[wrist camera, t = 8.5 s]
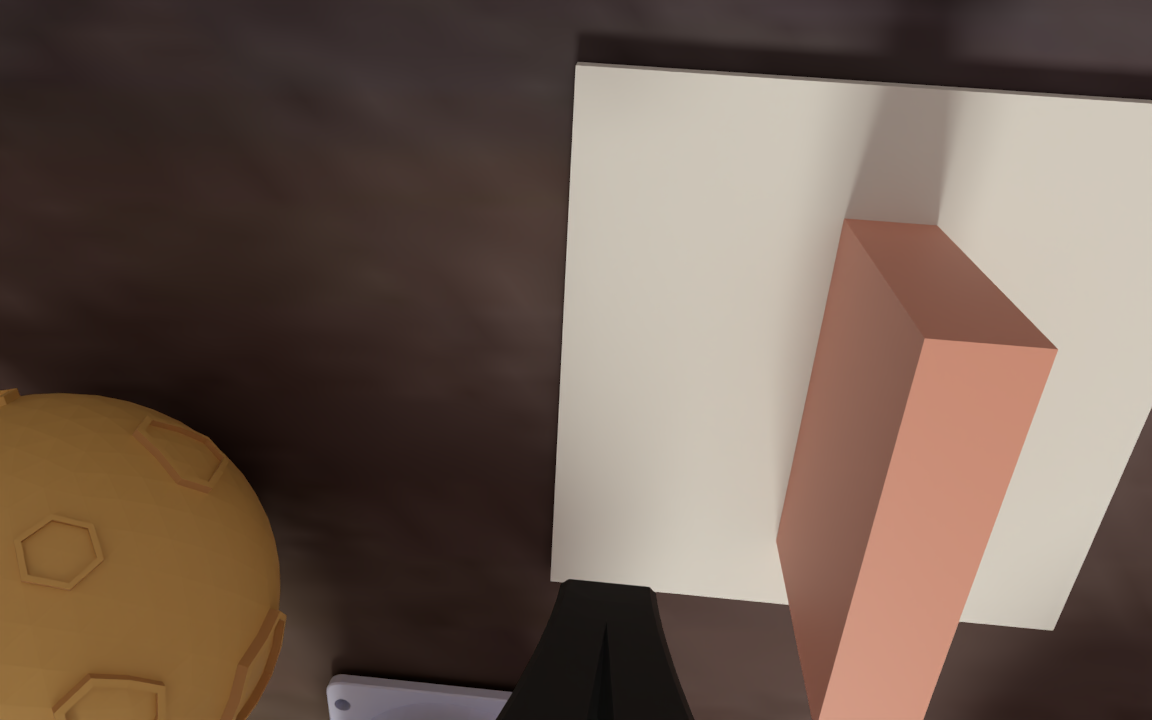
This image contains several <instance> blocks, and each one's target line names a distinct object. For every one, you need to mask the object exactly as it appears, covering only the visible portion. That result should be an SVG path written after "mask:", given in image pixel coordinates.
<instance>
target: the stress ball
mask: <svg viewBox="0 0 1152 720" xmlns="http://www.w3.org/2000/svg"><path fill="white" fill-rule="evenodd" d="M279 600H280V568H279V559H278V554H277V548H276V543H275V539H274V535H273V532H272V529H271V526H270V523H269V519H268V517H267V515H266V513H265V511H264V509H263V507H262V505H261V503H260V501H259V499H258V497H257V495H256V493H255V492H254V490H253V489H252V487H251V486H250V484H249V482H248V481H247V479H246V478H245V476H244V475H243V474H242V472H241V471H240V470H239V469H238V468H237V467H236V466H235V465H234V464H233V462H232V461H231V460H230V459H229V458H228V457H227V456H226V455H225V454H224V453H223V452H222V451H221V450H220V449H219V448H218V447H217V446H216V445H215V444H214V443H213V441H212V440H211V439H210V438H209V437H207V436H205V435H203V434H201V433H198V432H196V431H194V430H193V429H191V428H190V427H188V426H187V425H185V424H183V423H182V422H180V421H178V420H176V419H174V418H171V417H169V416H167V415H165V414H162V413H160V412H158V411H156V410H153V409H150V408H147V407H144V406H141V405H138V404H135V403H132V402H129V401H124V400H119V399H114V398H109V397H104V396H99V395H84V394H68V393H52V394H32V395H25V396H20V394H19V392H18V389H17V388H14V389H7V390H0V720H246V719H247V717H248V716H249V715H250V713H251V712H252V710H253V709H254V708H255V706H256V705H257V703H258V701H259V699H260V697H261V696H262V694H263V692H264V690H265V688H266V686H267V684H268V682H269V680H270V678H271V676H272V674H273V671H274V668H275V665H276V662H277V659H278V656H279V653H280V650H281V647H282V642H283V636H284V629H285V623H286V616H287V615H285V614H283V613H282V612H280V611H279Z"/></svg>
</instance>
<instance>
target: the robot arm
mask: <svg viewBox="0 0 1152 720" xmlns="http://www.w3.org/2000/svg"><path fill="white" fill-rule="evenodd" d="M327 699H328V707H329V715H330V720H694V718H693V715H692V713H691V710H690V708H689V705H688V702H687V700H686V697H685V695H684V692H683V689H682V687H681V684H680V682H679V679H678V676H677V673H676V670H675V667H674V664H673V661H672V658H671V655H670V652H669V649H668V645H667V642H666V639H665V635H664V631H663V628H662V624H661V620H660V615H659V610H658V605H657V599H656V593H655V592H654V591H653V590H652V589H651V588H650V587H646V586H636V585H626V584H616V583H606V582H596V581H585V580H575V579H568V580H566V581H565V582H563V583H562V584H561V586H560V589H559V593H558V597H557V600H556V603H555V606H554V608H553V611H552V614H551V616H550V619H549V621H548V623H547V626H546V628H545V630H544V632H543V634H542V637H541V639H540V641H539V643H538V645H537V647H536V649H535V651H534V653H533V655H532V657H531V659H530V661H529V663H528V664H527V666H526V668H525V670H524V672H523V674H522V676H521V678H520V679H519V681H518V683H517V685H516V687H515V689H514V690H513V692H508V691H498V690H489V689H479V688H470V687H460V686H451V685H441V684H432V683H422V682H413V681H403V680H394V679H384V678H375V677H365V676H356V675H346V674H339V675H336V676H333V677H332V678H331V680H330V682H329V684H328V686H327Z"/></svg>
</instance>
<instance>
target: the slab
mask: <svg viewBox="0 0 1152 720" xmlns="http://www.w3.org/2000/svg"><path fill="white" fill-rule="evenodd" d="M1057 352H1058V349H1057V348H1056V346H1055V345H1054V344H1053V343H1052V342H1051V341H1050V340H1049V339H1048V338H1047V337H1046V336H1045V335H1044V334H1043V333H1042V332H1041V331H1040V330H1039V329H1038V328H1037V327H1036V326H1035V325H1034V324H1033V323H1032V322H1031V321H1030V320H1029V319H1028V318H1027V317H1026V316H1025V315H1024V314H1023V313H1022V312H1021V311H1020V310H1019V309H1018V308H1017V307H1016V306H1015V304H1014V303H1013V302H1012V301H1011V300H1010V299H1009V298H1008V297H1007V296H1006V295H1005V294H1004V293H1003V292H1002V291H1001V290H1000V289H999V288H998V287H997V286H996V285H995V284H994V283H993V282H992V281H991V280H990V279H989V278H988V277H987V276H986V275H985V274H984V273H983V272H982V271H981V270H980V269H979V268H978V267H977V266H976V265H975V264H974V262H973V261H972V260H971V259H970V258H969V257H968V256H967V255H966V254H965V253H964V252H963V251H962V250H961V249H960V248H959V247H958V246H957V245H956V244H955V243H954V242H953V241H952V240H951V239H950V238H949V237H948V236H947V235H946V234H945V233H944V232H943V231H942V230H941V229H940V228H939V227H938V226H937V225H925V224H912V223H898V222H885V221H872V220H858V219H845V218H844V221H843V226H842V231H841V235H840V240H839V245H838V250H837V254H836V259H835V264H834V269H833V273H832V278H831V283H830V287H829V292H828V297H827V302H826V306H825V311H824V316H823V321H822V325H821V330H820V335H819V340H818V344H817V349H816V354H815V358H814V363H813V368H812V373H811V377H810V382H809V387H808V392H807V396H806V401H805V406H804V411H803V415H802V420H801V425H800V430H799V434H798V439H797V444H796V448H795V453H794V458H793V463H792V467H791V472H790V477H789V482H788V486H787V491H786V496H785V501H784V505H783V510H782V515H781V519H780V524H779V529H778V534H777V538H776V544H777V549H778V554H779V559H780V563H781V568H782V573H783V578H784V583H785V588H786V593H787V598H788V603H789V608H790V613H791V618H792V623H793V628H794V633H795V637H796V642H797V647H798V652H799V657H800V662H801V667H802V672H803V677H804V682H805V687H806V692H807V697H808V702H809V707H810V711H811V716H812V720H923V719H924V716H925V713H926V710H927V708H928V705H929V702H930V699H931V697H932V694H933V691H934V688H935V686H936V683H937V680H938V677H939V675H940V672H941V669H942V667H943V664H944V661H945V658H946V656H947V653H948V650H949V647H950V645H951V642H952V639H953V636H954V634H955V631H956V628H957V625H958V623H959V620H960V617H961V614H962V612H963V609H964V606H965V604H966V601H967V598H968V595H969V593H970V590H971V587H972V584H973V582H974V579H975V576H976V573H977V571H978V568H979V565H980V562H981V560H982V557H983V554H984V551H985V549H986V546H987V543H988V541H989V538H990V535H991V532H992V530H993V527H994V524H995V521H996V519H997V516H998V513H999V510H1000V508H1001V505H1002V502H1003V499H1004V497H1005V494H1006V491H1007V488H1008V486H1009V483H1010V480H1011V478H1012V475H1013V472H1014V469H1015V467H1016V464H1017V461H1018V458H1019V456H1020V453H1021V450H1022V447H1023V445H1024V442H1025V439H1026V436H1027V434H1028V431H1029V428H1030V425H1031V423H1032V420H1033V417H1034V415H1035V412H1036V409H1037V406H1038V404H1039V401H1040V398H1041V395H1042V393H1043V390H1044V387H1045V384H1046V382H1047V379H1048V376H1049V373H1050V371H1051V368H1052V365H1053V362H1054V360H1055V357H1056V354H1057Z"/></svg>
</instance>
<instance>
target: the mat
mask: <svg viewBox="0 0 1152 720" xmlns="http://www.w3.org/2000/svg"><path fill="white" fill-rule="evenodd" d="M844 218H845V219H858V220H872V221H885V222H898V223H912V224H925V225H937V226H938V227H939V228H940V229H941V230H942V231H943V232H944V233H945V234H946V235H947V236H948V237H949V238H950V239H951V240H952V241H953V242H954V243H955V244H956V245H957V246H958V247H959V248H960V249H961V250H962V251H963V252H964V253H965V254H966V255H967V256H968V257H969V258H970V259H971V260H972V261H973V262H974V264H975V265H976V266H977V267H978V268H979V269H980V270H981V271H982V272H983V273H984V274H985V275H986V276H987V277H988V278H989V279H990V280H991V281H992V282H993V283H994V284H995V285H996V286H997V287H998V288H999V289H1000V290H1001V291H1002V292H1003V293H1004V294H1005V295H1006V296H1007V297H1008V298H1009V299H1010V300H1011V301H1012V302H1013V303H1014V304H1015V306H1016V307H1017V308H1018V309H1019V310H1020V311H1021V312H1022V313H1023V314H1024V315H1025V316H1026V317H1027V318H1028V319H1029V320H1030V321H1031V322H1032V323H1033V324H1034V325H1035V326H1036V327H1037V328H1038V329H1039V330H1040V331H1041V332H1042V333H1043V334H1044V335H1045V336H1046V337H1047V338H1048V339H1049V340H1050V341H1051V342H1052V343H1053V344H1054V345H1055V346H1056V348H1057V349H1058V352H1057V354H1056V357H1055V360H1054V362H1053V365H1052V368H1051V371H1050V373H1049V376H1048V379H1047V382H1046V384H1045V387H1044V390H1043V393H1042V395H1041V398H1040V401H1039V404H1038V406H1037V409H1036V412H1035V415H1034V417H1033V420H1032V423H1031V425H1030V428H1029V431H1028V434H1027V436H1026V439H1025V442H1024V445H1023V447H1022V450H1021V453H1020V456H1019V458H1018V461H1017V464H1016V467H1015V469H1014V472H1013V475H1012V478H1011V480H1010V483H1009V486H1008V488H1007V491H1006V494H1005V497H1004V499H1003V502H1002V505H1001V508H1000V510H999V513H998V516H997V519H996V521H995V524H994V527H993V530H992V532H991V535H990V538H989V541H988V543H987V546H986V549H985V551H984V554H983V557H982V560H981V562H980V565H979V568H978V571H977V573H976V576H975V579H974V582H973V584H972V587H971V590H970V593H969V595H968V598H967V601H966V604H965V606H964V609H963V612H962V614H961V617H960V620H959V621H960V622H970V623H980V624H991V625H1001V626H1011V627H1021V628H1031V629H1041V630H1052V631H1053V630H1054V628H1055V625H1056V623H1057V621H1058V618H1059V616H1060V614H1061V612H1062V609H1063V607H1064V605H1065V603H1066V600H1067V598H1068V596H1069V593H1070V591H1071V589H1072V587H1073V584H1074V582H1075V580H1076V578H1077V575H1078V573H1079V571H1080V569H1081V566H1082V564H1083V562H1084V559H1085V557H1086V555H1087V553H1088V550H1089V548H1090V546H1091V544H1092V541H1093V539H1094V537H1095V534H1096V532H1097V530H1098V528H1099V525H1100V523H1101V521H1102V519H1103V516H1104V514H1105V512H1106V509H1107V507H1108V505H1109V503H1110V500H1111V498H1112V496H1113V494H1114V491H1115V489H1116V487H1117V485H1118V482H1119V480H1120V478H1121V475H1122V473H1123V471H1124V469H1125V466H1126V464H1127V462H1128V460H1129V457H1130V455H1131V453H1132V450H1133V448H1134V446H1135V444H1136V441H1137V439H1138V437H1139V435H1140V432H1141V430H1142V428H1143V426H1144V423H1145V421H1146V419H1147V416H1148V414H1149V412H1150V410H1151V407H1152V100H1143V99H1128V98H1113V97H1098V96H1083V95H1068V94H1053V93H1038V92H1023V91H1008V90H993V89H978V88H963V87H948V86H933V85H918V84H903V83H888V82H873V81H858V80H843V79H828V78H813V77H798V76H783V75H768V74H753V73H738V72H723V71H708V70H693V69H678V68H663V67H648V66H633V65H618V64H603V63H588V62H577V64H576V70H575V90H574V111H573V131H572V151H571V172H570V192H569V213H568V233H567V253H566V274H565V294H564V314H563V335H562V355H561V376H560V396H559V416H558V437H557V457H556V477H555V498H554V518H553V538H552V559H551V579H550V581H553V582H565V581H566V580H568V579H575V580H585V581H596V582H606V583H616V584H626V585H636V586H646V587H650V588H651V589H652V590H653V591H655V592H665V593H675V594H686V595H696V596H706V597H716V598H726V599H736V600H747V601H757V602H767V603H777V604H787V605H789V603H788V598H787V593H786V588H785V583H784V578H783V573H782V568H781V563H780V559H779V554H778V549H777V544H776V538H777V534H778V529H779V524H780V519H781V515H782V510H783V505H784V501H785V496H786V491H787V486H788V482H789V477H790V472H791V467H792V463H793V458H794V453H795V448H796V444H797V439H798V434H799V430H800V425H801V420H802V415H803V411H804V406H805V401H806V396H807V392H808V387H809V382H810V377H811V373H812V368H813V363H814V358H815V354H816V349H817V344H818V340H819V335H820V330H821V325H822V321H823V316H824V311H825V306H826V302H827V297H828V292H829V287H830V283H831V278H832V273H833V269H834V264H835V259H836V254H837V250H838V245H839V240H840V235H841V231H842V226H843V221H844Z"/></svg>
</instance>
